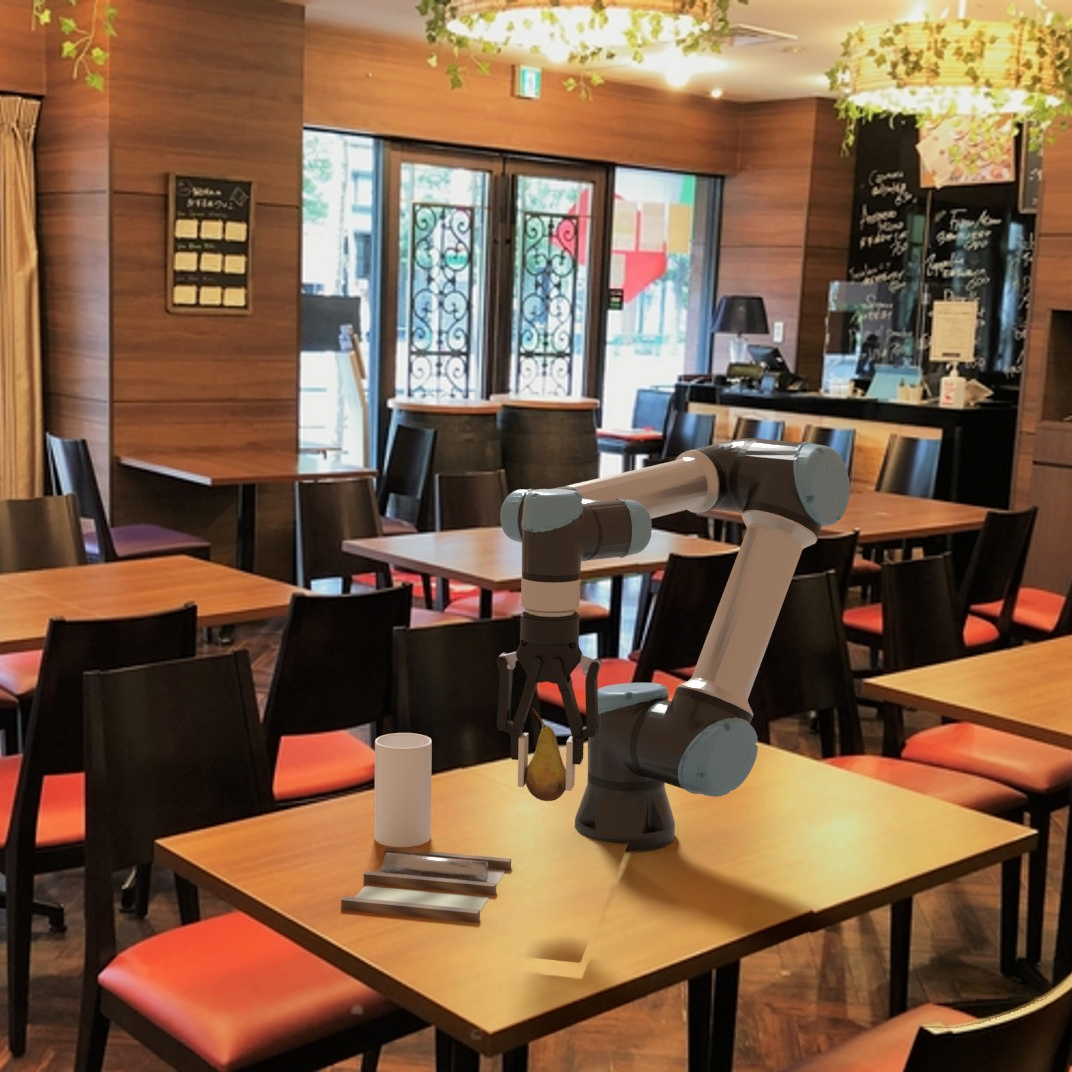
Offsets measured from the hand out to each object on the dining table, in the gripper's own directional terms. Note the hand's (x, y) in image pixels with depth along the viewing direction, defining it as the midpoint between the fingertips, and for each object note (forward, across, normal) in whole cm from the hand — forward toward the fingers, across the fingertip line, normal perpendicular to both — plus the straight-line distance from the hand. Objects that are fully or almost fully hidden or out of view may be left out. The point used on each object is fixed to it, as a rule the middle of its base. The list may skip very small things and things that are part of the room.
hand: (546, 785), depth 195 cm
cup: (+17, +24, -18) cm, 35 cm away
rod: (+14, +16, -5) cm, 22 cm away
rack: (+17, +16, 0) cm, 23 cm away
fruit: (+2, 0, 0) cm, 2 cm away
